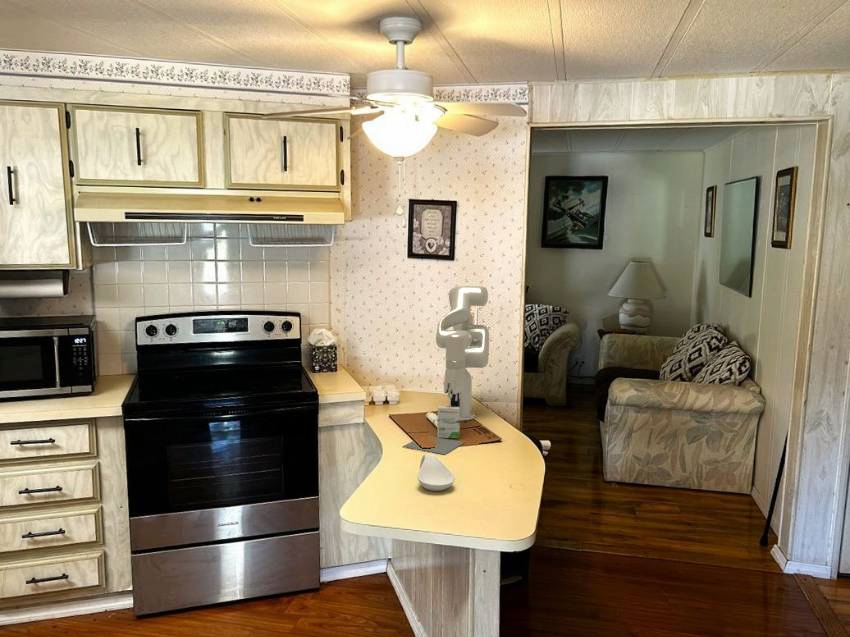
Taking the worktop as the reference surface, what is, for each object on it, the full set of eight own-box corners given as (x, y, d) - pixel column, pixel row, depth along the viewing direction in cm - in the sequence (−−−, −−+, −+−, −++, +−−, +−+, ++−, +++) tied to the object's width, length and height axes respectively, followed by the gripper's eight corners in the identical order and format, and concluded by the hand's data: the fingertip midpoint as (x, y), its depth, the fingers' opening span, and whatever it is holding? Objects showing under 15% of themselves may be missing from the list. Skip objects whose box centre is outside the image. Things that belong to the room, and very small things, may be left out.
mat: (423, 436, 271) (423, 435, 271) (464, 443, 263) (464, 442, 262) (402, 447, 258) (402, 446, 258) (444, 455, 249) (444, 454, 249)
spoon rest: (458, 494, 213) (458, 471, 213) (421, 496, 211) (421, 474, 210) (442, 467, 237) (442, 447, 236) (408, 470, 234) (408, 449, 233)
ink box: (459, 435, 272) (460, 406, 271) (459, 439, 267) (460, 408, 266) (437, 434, 273) (438, 405, 272) (436, 437, 268) (437, 407, 267)
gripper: (455, 360, 279) (455, 404, 282) (437, 366, 267) (437, 412, 269) (472, 362, 276) (471, 407, 278) (455, 368, 263) (454, 415, 265)
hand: (455, 409), depth 273 cm, fingers closed
